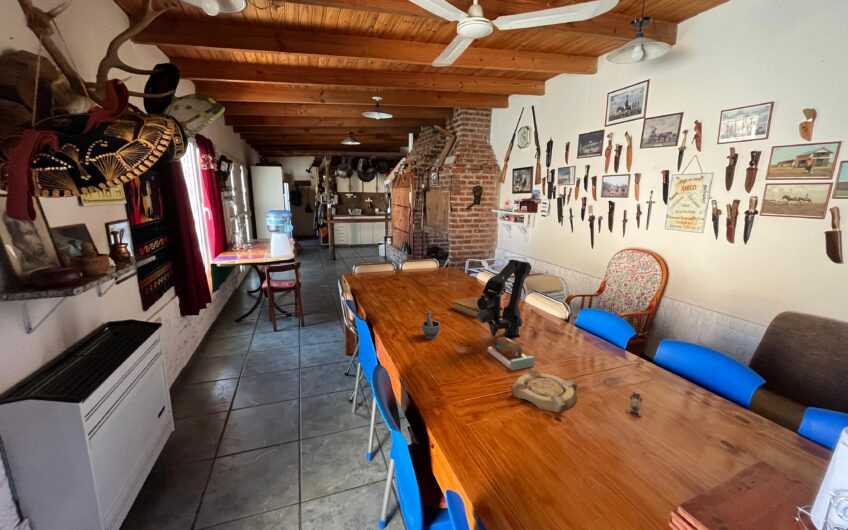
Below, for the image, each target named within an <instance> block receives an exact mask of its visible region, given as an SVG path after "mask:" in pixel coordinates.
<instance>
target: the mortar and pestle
mask: <svg viewBox="0 0 848 530" xmlns="http://www.w3.org/2000/svg"><path fill="white" fill-rule="evenodd" d="M431 314H432V312H431V311H427V312H425V315H426V318H425V319H426V321H422V323H421V331H422V332H423V333H424V337H425V338H426V339H429V340H435V339H437V338H438V334H439V333H440V330H441V326H442V325H441V323H440V321H436V320H432V315H431Z"/></svg>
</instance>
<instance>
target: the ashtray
mask: <svg viewBox="0 0 848 530" xmlns="http://www.w3.org/2000/svg"><path fill="white" fill-rule="evenodd" d="M578 387H579V386H578V383H576V381H574V380H573V379H570V380H567V381H566V380H564V379H562V378H560V377H558V376H555V375H552V374H549V373H548V374H547V373H540V372H539V371H538V370H536V369H532V368H529V369H528V373H525V374H522V375H521V376H519V377H518V378H516V380H515V382H514V383H513V384H512V387H511V390H512V391H511V392H512V395H513V396H514V397H516V398H517V399H523V400H527V401H529V402H531V403H533V405H535V406H536V407H537V408H539V409H541V410H546V411H551V412H557V413H562V412H565V411H566V410H567V409H570V408H572V407H574V406H575V405H576V403H577V402H578V395H577V393H576V391H577V388H578Z"/></svg>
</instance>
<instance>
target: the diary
mask: <svg viewBox="0 0 848 530" xmlns="http://www.w3.org/2000/svg"><path fill="white" fill-rule="evenodd" d="M478 299H479V297H476V296H470V297H466V298H461V299H457V300H454V301H452V303H453V306H454V307H453V308H452V310H455V311H457V312H460V313H462V314H466V315H467V316H471V317H474V318H476V319H478V317H477V314H479V313H480V311H485V310H481V309H479V308H478V306H477V301H478Z"/></svg>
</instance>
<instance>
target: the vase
mask: <svg viewBox="0 0 848 530" xmlns="http://www.w3.org/2000/svg"><path fill="white" fill-rule="evenodd" d="M631 394H632V395H630V397H629V398H630V399H629V407H630V408H631V410H629V409H624V412H628V413H629V414H631V413H636V414H638V417H641V418H642V417H643V416H642V415H643V413H640V409H641V408H642V401H643V399H642V397H641V394H640V393H635V392H632V393H631Z"/></svg>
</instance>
